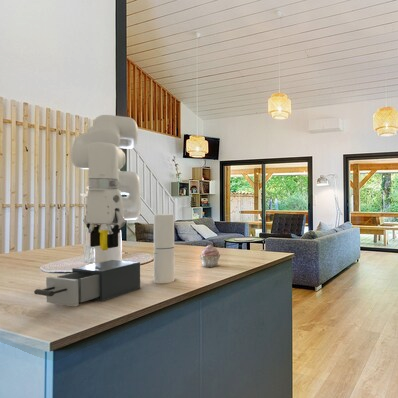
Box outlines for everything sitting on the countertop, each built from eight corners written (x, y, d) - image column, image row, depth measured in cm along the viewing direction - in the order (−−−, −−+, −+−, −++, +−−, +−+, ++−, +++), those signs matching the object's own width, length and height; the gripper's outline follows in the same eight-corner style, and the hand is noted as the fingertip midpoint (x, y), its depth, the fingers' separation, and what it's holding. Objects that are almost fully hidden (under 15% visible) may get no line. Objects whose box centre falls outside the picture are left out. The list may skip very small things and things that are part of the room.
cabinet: (102, 301, 98) (101, 271, 98) (72, 297, 102) (72, 268, 102) (140, 288, 112) (140, 262, 111) (112, 285, 116) (112, 259, 116)
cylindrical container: (167, 283, 117) (166, 215, 117) (149, 282, 119) (149, 214, 118) (178, 278, 124) (178, 214, 124) (161, 278, 126) (161, 213, 125)
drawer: (56, 312, 86) (56, 285, 86) (27, 307, 89) (27, 281, 89) (116, 293, 103) (115, 270, 103) (89, 289, 107) (89, 267, 107)
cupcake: (217, 268, 143) (217, 245, 143) (196, 268, 143) (196, 245, 143) (222, 263, 152) (222, 242, 152) (203, 263, 152) (203, 242, 152)
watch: (97, 248, 96) (96, 229, 96) (107, 247, 98) (107, 228, 98) (100, 251, 92) (100, 230, 92) (111, 250, 94) (111, 230, 93)
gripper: (137, 185, 95) (137, 246, 96) (93, 185, 101) (94, 243, 101) (115, 184, 88) (115, 250, 89) (70, 185, 94) (70, 247, 94)
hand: (104, 246), depth 95 cm, fingers closed on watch, 5 cm apart
